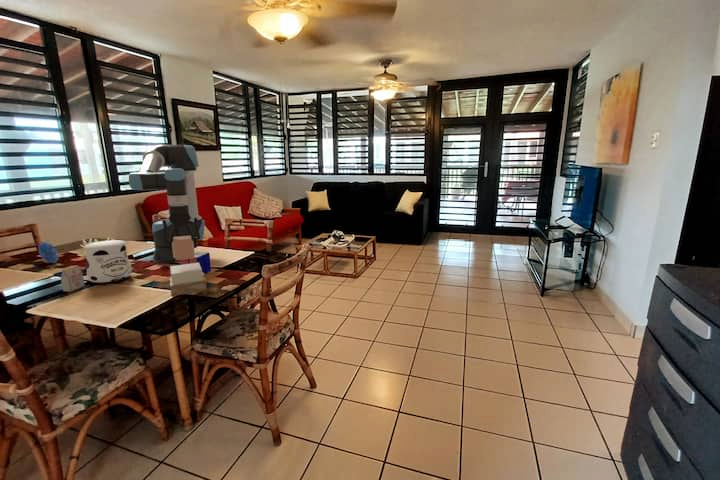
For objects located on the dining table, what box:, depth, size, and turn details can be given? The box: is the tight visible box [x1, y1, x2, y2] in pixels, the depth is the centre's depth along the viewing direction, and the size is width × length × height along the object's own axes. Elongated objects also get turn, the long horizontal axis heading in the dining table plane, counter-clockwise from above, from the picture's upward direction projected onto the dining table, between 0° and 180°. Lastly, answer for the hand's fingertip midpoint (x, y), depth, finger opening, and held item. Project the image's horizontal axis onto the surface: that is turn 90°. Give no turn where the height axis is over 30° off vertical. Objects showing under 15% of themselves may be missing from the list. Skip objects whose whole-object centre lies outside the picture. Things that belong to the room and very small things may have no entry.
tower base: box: [169, 272, 208, 297], centre depth 153 cm, size 14×14×5 cm
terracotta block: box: [173, 236, 194, 260], centre depth 149 cm, size 7×7×9 cm
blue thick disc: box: [37, 241, 59, 264], centre depth 184 cm, size 12×7×12 cm, turn 79°
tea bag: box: [60, 265, 86, 293], centre depth 150 cm, size 4×7×10 cm, turn 173°
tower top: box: [169, 263, 203, 285], centre depth 152 cm, size 12×12×5 cm
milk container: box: [84, 239, 132, 284], centre depth 160 cm, size 17×17×18 cm
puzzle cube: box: [179, 251, 212, 275], centre depth 172 cm, size 10×10×10 cm
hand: (184, 255), depth 150 cm, fingers closed on terracotta block, 7 cm apart
